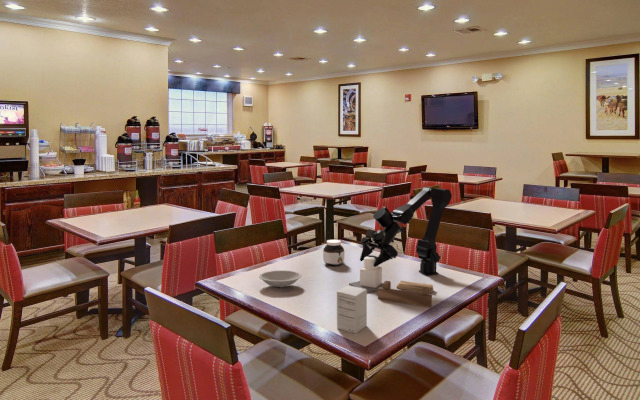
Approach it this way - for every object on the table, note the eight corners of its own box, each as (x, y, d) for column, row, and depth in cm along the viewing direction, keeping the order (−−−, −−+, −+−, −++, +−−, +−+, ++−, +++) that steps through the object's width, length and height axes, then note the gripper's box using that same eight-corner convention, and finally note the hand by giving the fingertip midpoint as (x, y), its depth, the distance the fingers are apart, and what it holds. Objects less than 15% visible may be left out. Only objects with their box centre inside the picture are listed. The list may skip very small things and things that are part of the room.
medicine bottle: (366, 280, 184) (366, 253, 182) (382, 283, 181) (382, 255, 179) (359, 285, 178) (359, 257, 176) (375, 288, 174) (376, 259, 173)
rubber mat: (371, 279, 187) (371, 278, 187) (389, 287, 177) (389, 286, 177) (348, 284, 181) (348, 283, 181) (366, 293, 171) (366, 291, 171)
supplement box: (347, 320, 145) (348, 284, 143) (367, 326, 141) (367, 288, 139) (336, 328, 139) (336, 291, 137) (356, 334, 135) (356, 295, 133)
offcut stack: (399, 285, 180) (399, 279, 180) (433, 290, 174) (433, 284, 173) (396, 288, 176) (396, 283, 175) (430, 294, 170) (431, 288, 169)
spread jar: (329, 267, 205) (329, 244, 203) (317, 262, 215) (317, 239, 213) (349, 264, 211) (350, 241, 209) (337, 258, 221) (337, 236, 219)
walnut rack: (381, 294, 169) (382, 280, 168) (433, 303, 160) (433, 287, 159) (378, 298, 165) (378, 283, 164) (430, 307, 156) (431, 291, 155)
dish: (303, 281, 185) (303, 270, 184) (299, 293, 171) (299, 281, 170) (262, 281, 186) (262, 270, 185) (256, 292, 172) (255, 280, 171)
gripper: (364, 218, 185) (342, 246, 181) (392, 225, 169) (370, 257, 165) (378, 234, 190) (358, 262, 186) (407, 242, 174) (385, 273, 170)
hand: (367, 263), depth 177 cm, fingers open, 9 cm apart
